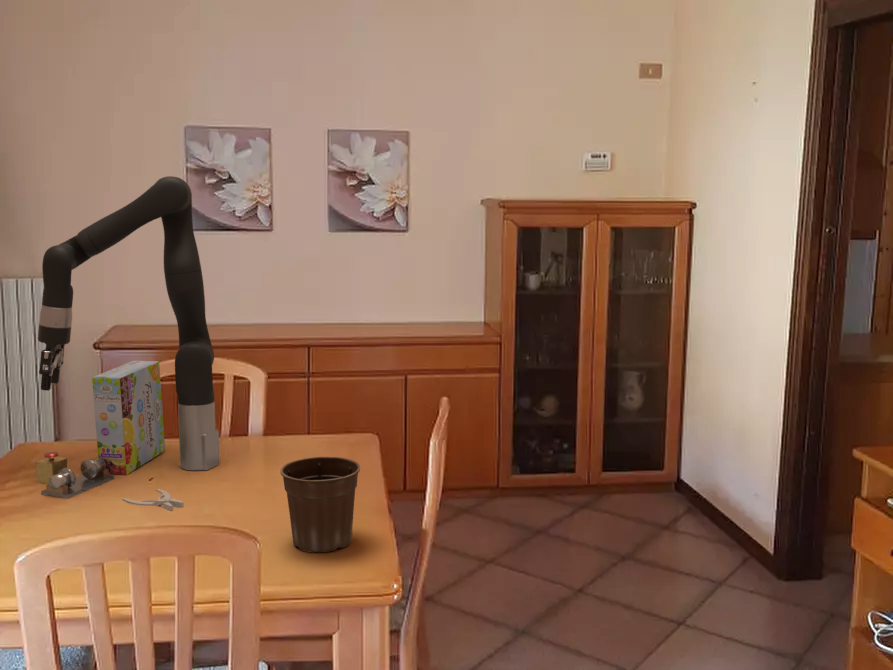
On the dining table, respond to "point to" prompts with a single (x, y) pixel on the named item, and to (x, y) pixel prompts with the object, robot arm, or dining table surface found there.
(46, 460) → the push button
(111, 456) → the snack box
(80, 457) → the dining table surface
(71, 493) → the flanged cylinder mounting plate
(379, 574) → the dining table surface
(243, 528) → the dining table surface
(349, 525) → the plant pot
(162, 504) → the pliers
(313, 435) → the dining table surface
